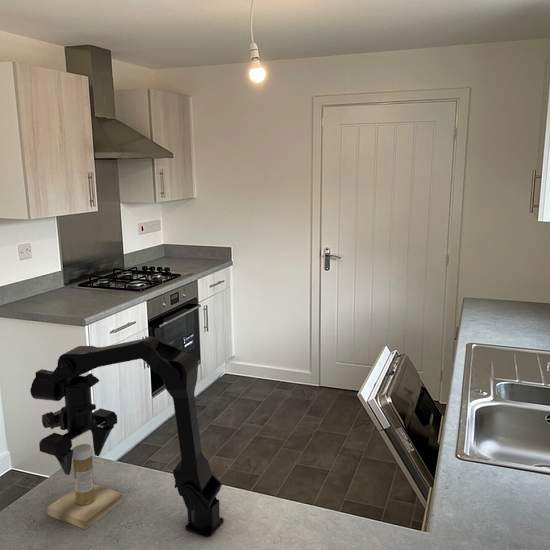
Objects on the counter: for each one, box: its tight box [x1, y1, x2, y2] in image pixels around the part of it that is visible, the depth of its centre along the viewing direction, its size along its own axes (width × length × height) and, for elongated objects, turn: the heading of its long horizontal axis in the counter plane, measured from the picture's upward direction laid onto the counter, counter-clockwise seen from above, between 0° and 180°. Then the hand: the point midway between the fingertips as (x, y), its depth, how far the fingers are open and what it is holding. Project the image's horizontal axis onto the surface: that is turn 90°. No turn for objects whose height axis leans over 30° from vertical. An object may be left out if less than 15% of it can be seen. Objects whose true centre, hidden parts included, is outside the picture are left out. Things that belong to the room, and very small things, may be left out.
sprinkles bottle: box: [71, 443, 95, 505], centre depth 127 cm, size 5×5×14 cm
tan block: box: [46, 483, 124, 530], centre depth 129 cm, size 12×12×2 cm
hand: (82, 464), depth 127 cm, fingers open, 9 cm apart
